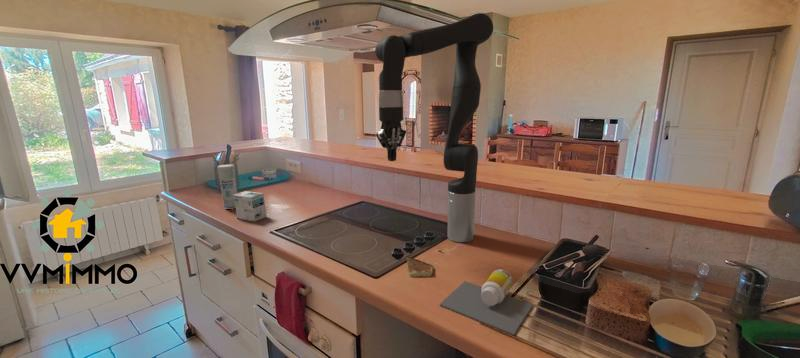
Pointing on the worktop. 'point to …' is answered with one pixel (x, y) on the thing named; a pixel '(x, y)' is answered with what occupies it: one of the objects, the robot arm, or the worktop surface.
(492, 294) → the supplement bottle
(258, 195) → the light bulb box
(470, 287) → the mat
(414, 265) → the shard
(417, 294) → the worktop surface
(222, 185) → the spray can
